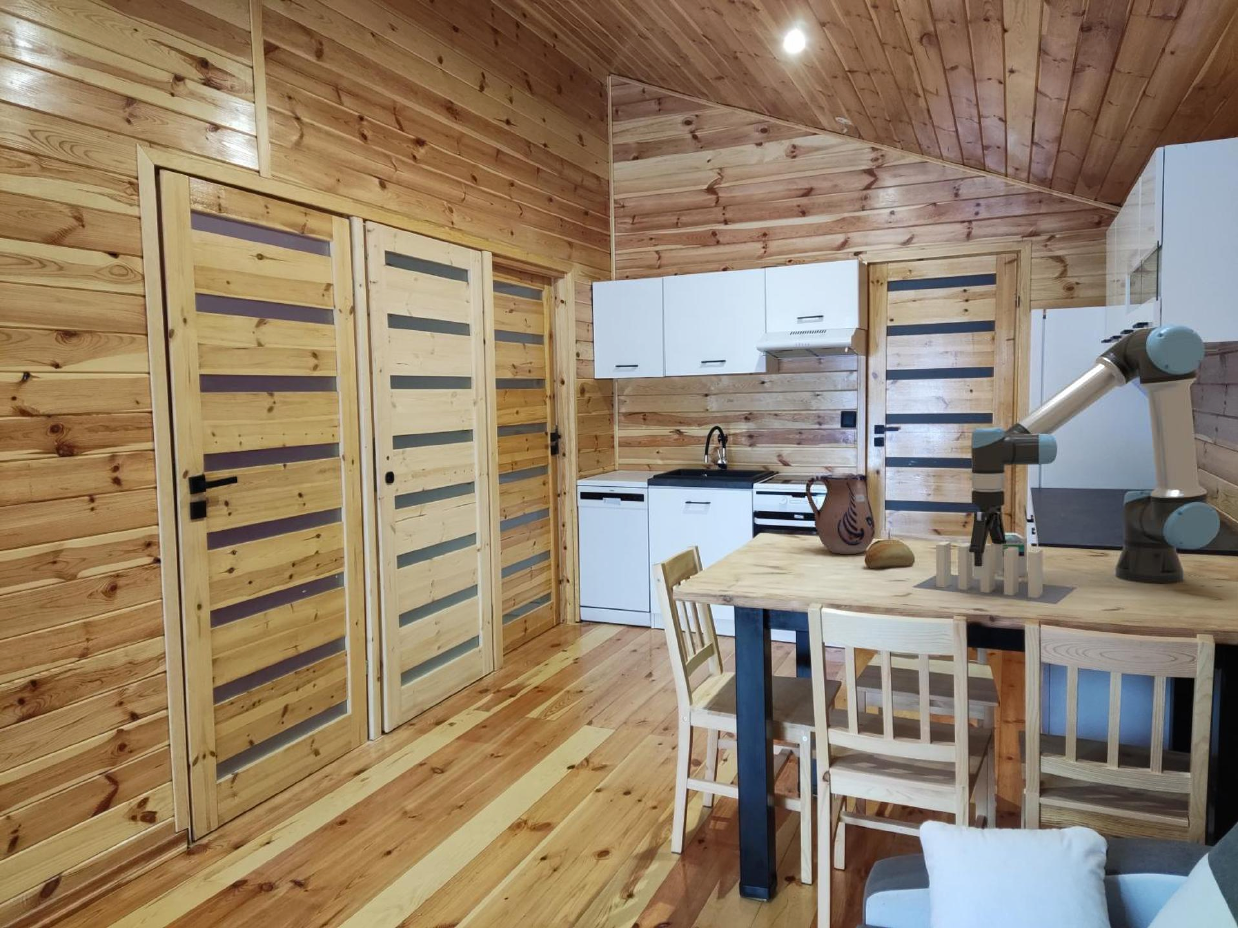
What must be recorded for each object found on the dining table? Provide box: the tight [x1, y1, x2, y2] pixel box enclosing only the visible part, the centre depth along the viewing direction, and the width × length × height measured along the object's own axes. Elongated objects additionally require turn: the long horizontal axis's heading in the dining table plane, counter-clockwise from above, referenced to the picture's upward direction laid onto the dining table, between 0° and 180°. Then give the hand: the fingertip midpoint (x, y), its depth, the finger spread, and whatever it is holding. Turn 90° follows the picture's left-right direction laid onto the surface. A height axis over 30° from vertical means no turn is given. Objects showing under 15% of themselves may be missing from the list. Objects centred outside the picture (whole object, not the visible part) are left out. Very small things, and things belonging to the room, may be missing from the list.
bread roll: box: [864, 539, 916, 569], centre depth 248 cm, size 10×15×8 cm, turn 99°
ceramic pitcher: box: [805, 472, 876, 555], centre depth 272 cm, size 18×21×25 cm
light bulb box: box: [992, 532, 1028, 577], centre depth 233 cm, size 11×7×11 cm, turn 168°
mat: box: [912, 573, 1077, 605], centre depth 216 cm, size 34×20×1 cm, turn 50°
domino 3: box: [981, 544, 996, 593], centre depth 213 cm, size 2×5×11 cm, turn 140°
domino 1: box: [935, 541, 952, 587], centre depth 220 cm, size 2×5×11 cm, turn 140°
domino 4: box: [1003, 547, 1020, 595], centre depth 209 cm, size 2×5×11 cm, turn 140°
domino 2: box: [957, 542, 973, 590], centre depth 216 cm, size 2×5×11 cm, turn 139°
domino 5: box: [1027, 548, 1044, 598], centre depth 206 cm, size 2×5×11 cm, turn 140°
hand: (988, 574), depth 213 cm, fingers open, 13 cm apart
